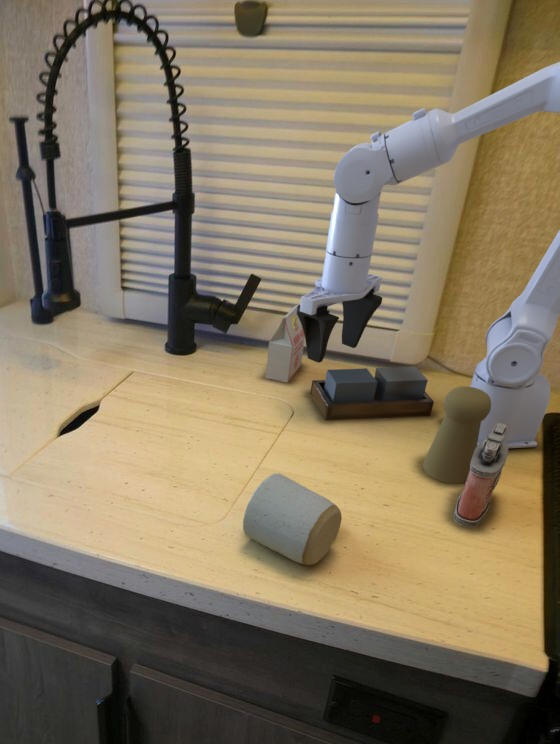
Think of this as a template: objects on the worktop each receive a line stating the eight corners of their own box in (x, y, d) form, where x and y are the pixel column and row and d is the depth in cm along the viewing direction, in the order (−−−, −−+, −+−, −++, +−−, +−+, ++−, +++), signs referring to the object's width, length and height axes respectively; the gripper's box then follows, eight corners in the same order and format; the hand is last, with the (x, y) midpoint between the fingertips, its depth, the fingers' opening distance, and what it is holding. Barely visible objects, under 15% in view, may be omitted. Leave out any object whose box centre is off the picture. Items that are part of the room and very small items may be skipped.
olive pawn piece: (475, 486, 81) (503, 406, 75) (424, 480, 82) (447, 400, 76) (468, 460, 86) (493, 382, 80) (420, 454, 87) (441, 377, 81)
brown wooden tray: (408, 390, 102) (415, 361, 99) (430, 415, 96) (438, 385, 93) (309, 394, 101) (314, 364, 98) (325, 420, 94) (330, 389, 91)
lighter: (479, 531, 74) (506, 455, 68) (448, 521, 76) (472, 446, 70) (493, 496, 80) (520, 423, 74) (464, 487, 81) (488, 415, 75)
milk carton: (265, 377, 105) (271, 316, 99) (279, 361, 110) (286, 302, 104) (287, 382, 104) (295, 320, 98) (300, 366, 109) (309, 306, 103)
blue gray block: (361, 392, 99) (366, 368, 97) (372, 407, 96) (377, 381, 93) (322, 394, 99) (327, 369, 96) (331, 408, 95) (336, 383, 93)
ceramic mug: (304, 582, 67) (315, 522, 63) (238, 548, 71) (244, 489, 67) (353, 534, 74) (366, 476, 69) (290, 505, 78) (299, 449, 73)
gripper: (357, 235, 91) (341, 331, 99) (287, 254, 83) (275, 357, 91) (402, 246, 86) (381, 345, 95) (332, 268, 79) (316, 374, 87)
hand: (332, 352), depth 92 cm, fingers open, 7 cm apart
